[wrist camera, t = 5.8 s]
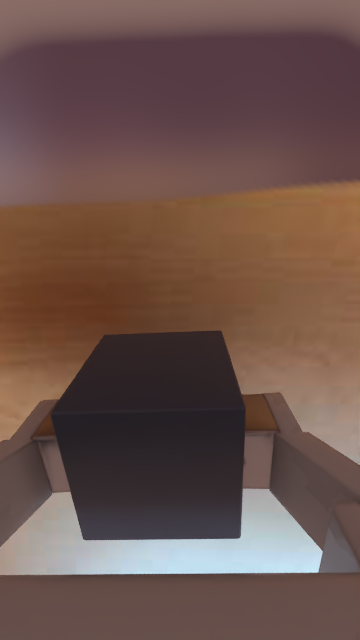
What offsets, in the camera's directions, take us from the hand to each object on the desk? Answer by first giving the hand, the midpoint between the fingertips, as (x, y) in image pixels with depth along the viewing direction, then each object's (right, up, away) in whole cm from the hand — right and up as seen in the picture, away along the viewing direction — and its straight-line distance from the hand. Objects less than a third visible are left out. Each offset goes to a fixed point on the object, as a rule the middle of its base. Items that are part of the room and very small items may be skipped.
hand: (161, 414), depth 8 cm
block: (0, +1, +2) cm, 2 cm away
